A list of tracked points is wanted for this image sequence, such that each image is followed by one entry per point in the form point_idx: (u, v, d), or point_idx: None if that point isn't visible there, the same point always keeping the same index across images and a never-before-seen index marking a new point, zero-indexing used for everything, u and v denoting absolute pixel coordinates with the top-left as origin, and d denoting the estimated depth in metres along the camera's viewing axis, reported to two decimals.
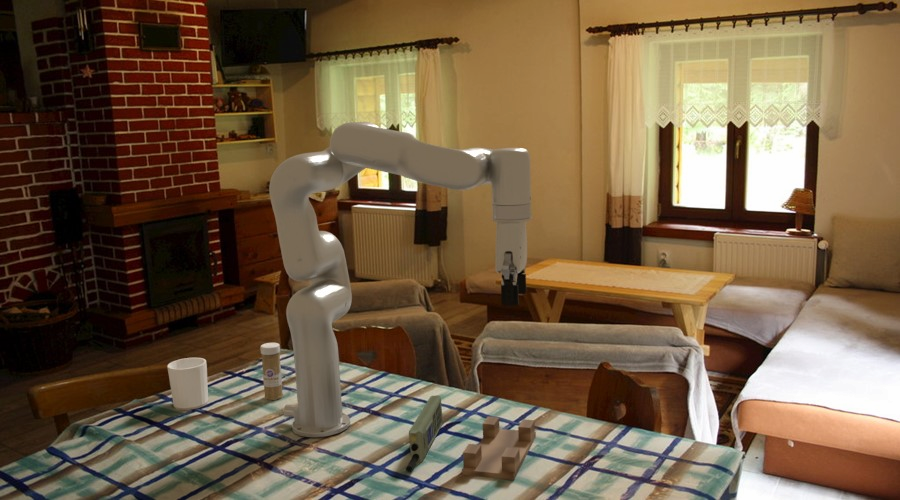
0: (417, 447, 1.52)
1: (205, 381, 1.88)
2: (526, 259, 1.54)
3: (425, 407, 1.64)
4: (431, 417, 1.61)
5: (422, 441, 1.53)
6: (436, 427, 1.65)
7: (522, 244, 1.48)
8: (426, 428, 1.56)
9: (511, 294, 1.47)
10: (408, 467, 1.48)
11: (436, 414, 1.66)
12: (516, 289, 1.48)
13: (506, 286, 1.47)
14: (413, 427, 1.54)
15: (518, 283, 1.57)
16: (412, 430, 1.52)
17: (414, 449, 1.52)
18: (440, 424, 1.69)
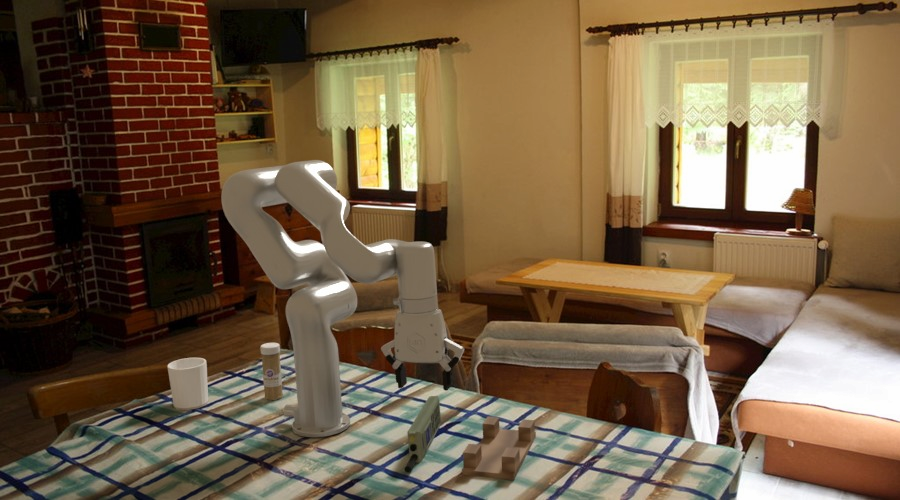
0: (416, 447, 1.52)
1: (205, 381, 1.88)
2: None
3: (423, 407, 1.64)
4: (429, 417, 1.61)
5: (421, 441, 1.53)
6: (434, 427, 1.65)
7: None
8: (425, 428, 1.56)
9: (452, 376, 1.56)
10: (407, 467, 1.48)
11: (434, 414, 1.66)
12: None
13: (450, 370, 1.54)
14: (412, 427, 1.54)
15: (403, 375, 1.58)
16: (411, 430, 1.53)
17: (413, 449, 1.52)
18: (438, 424, 1.69)
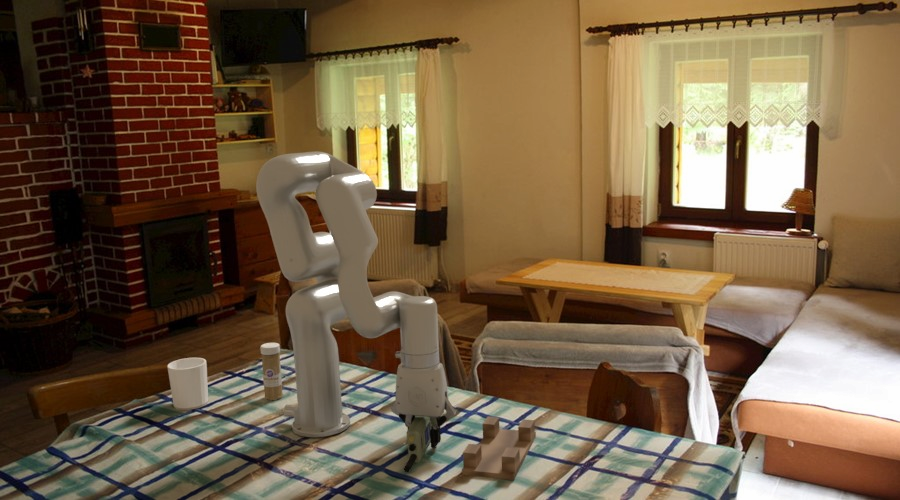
0: (415, 447, 1.52)
1: (205, 381, 1.88)
2: None
3: None
4: (428, 417, 1.61)
5: (420, 441, 1.53)
6: None
7: None
8: (424, 428, 1.56)
9: (440, 433, 1.59)
10: (406, 467, 1.48)
11: None
12: None
13: (438, 428, 1.58)
14: (411, 427, 1.54)
15: None
16: (410, 430, 1.53)
17: (412, 449, 1.52)
18: None
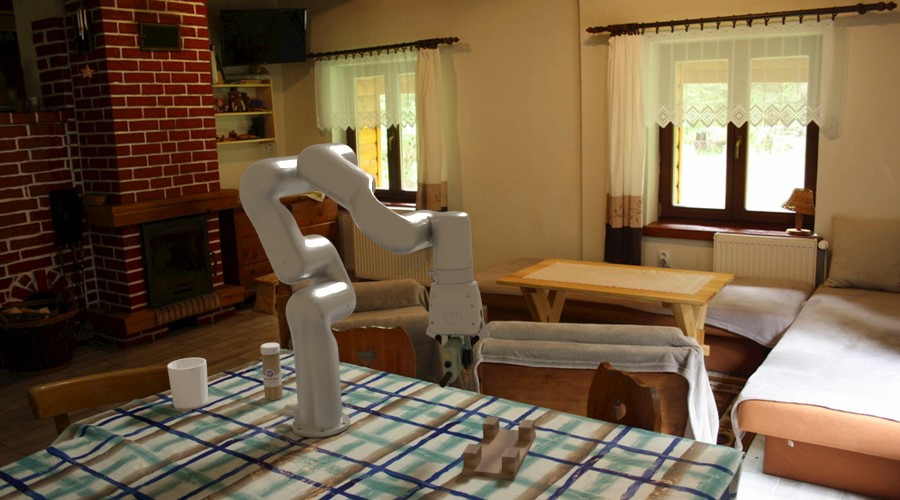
0: (450, 364, 1.47)
1: (205, 381, 1.88)
2: None
3: None
4: None
5: (455, 358, 1.47)
6: None
7: None
8: (459, 347, 1.50)
9: (472, 355, 1.53)
10: (441, 382, 1.42)
11: None
12: None
13: (471, 348, 1.52)
14: (446, 344, 1.48)
15: None
16: (445, 347, 1.47)
17: (447, 366, 1.46)
18: None
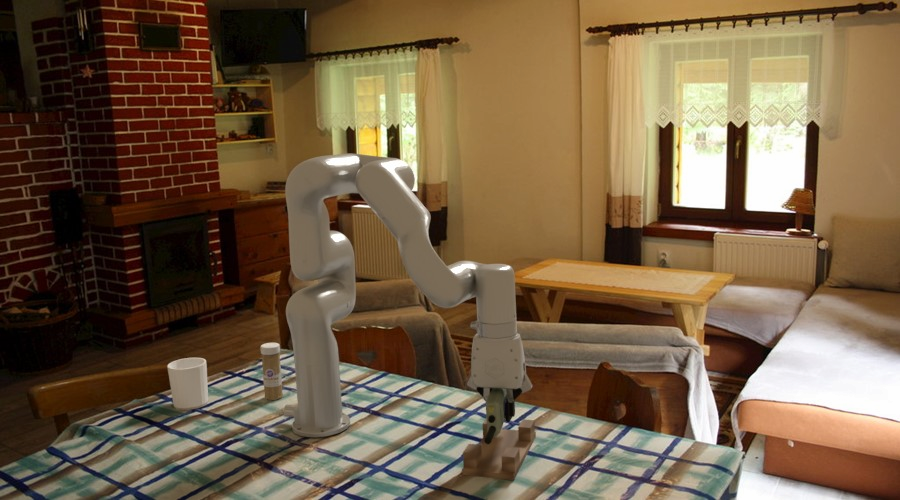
0: (494, 419, 1.46)
1: (205, 381, 1.88)
2: None
3: None
4: (505, 389, 1.54)
5: (499, 413, 1.47)
6: None
7: None
8: (502, 400, 1.50)
9: (514, 407, 1.53)
10: (487, 439, 1.41)
11: None
12: None
13: (513, 401, 1.52)
14: (489, 398, 1.48)
15: None
16: (489, 401, 1.46)
17: (491, 421, 1.45)
18: None
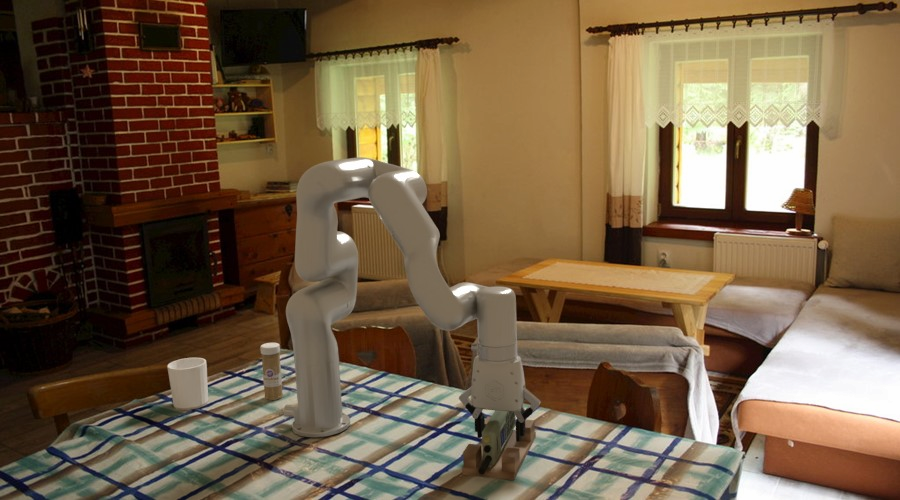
0: (490, 449, 1.47)
1: (205, 381, 1.88)
2: None
3: None
4: (504, 418, 1.56)
5: (495, 443, 1.48)
6: (509, 428, 1.60)
7: None
8: (499, 429, 1.51)
9: None
10: (481, 469, 1.43)
11: (509, 415, 1.60)
12: None
13: (524, 421, 1.52)
14: (486, 428, 1.49)
15: (482, 424, 1.55)
16: (485, 431, 1.48)
17: (487, 451, 1.47)
18: (513, 425, 1.64)
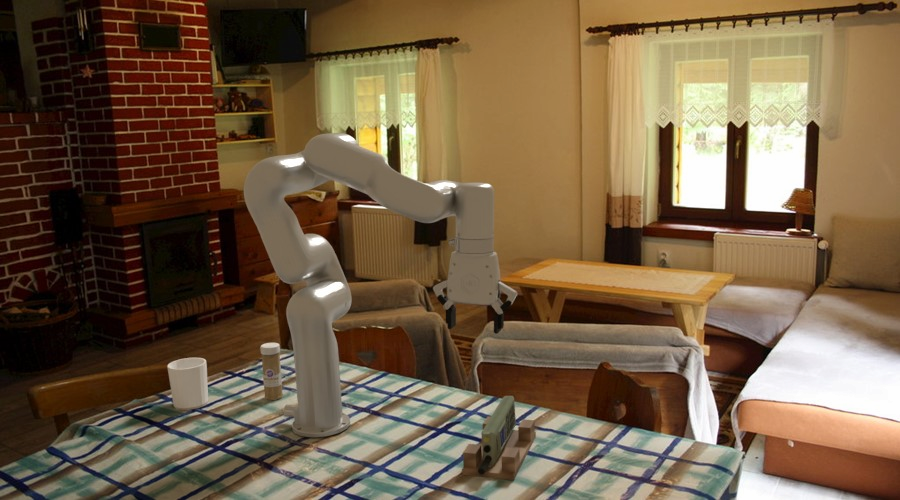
0: (490, 449, 1.47)
1: (205, 381, 1.88)
2: None
3: (498, 407, 1.59)
4: (504, 418, 1.56)
5: (495, 443, 1.48)
6: (509, 428, 1.60)
7: None
8: (499, 429, 1.51)
9: (503, 320, 1.55)
10: (480, 469, 1.43)
11: (509, 415, 1.60)
12: None
13: (502, 313, 1.54)
14: (486, 428, 1.49)
15: (453, 316, 1.58)
16: (485, 431, 1.48)
17: (487, 451, 1.47)
18: (513, 425, 1.64)
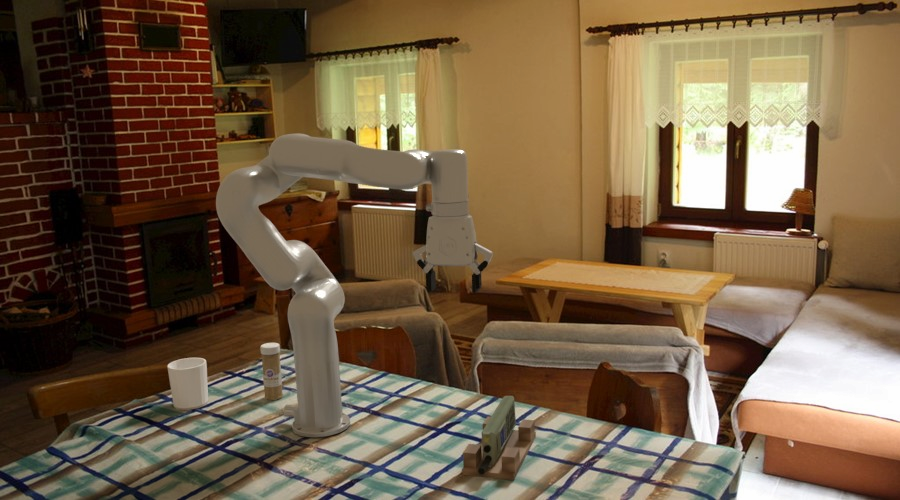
0: (490, 449, 1.47)
1: (205, 381, 1.88)
2: None
3: (498, 407, 1.59)
4: (504, 418, 1.56)
5: (495, 443, 1.48)
6: (509, 428, 1.60)
7: None
8: (499, 429, 1.51)
9: None
10: (480, 469, 1.43)
11: (509, 415, 1.60)
12: None
13: (479, 274, 1.61)
14: (486, 428, 1.49)
15: (433, 280, 1.65)
16: (485, 431, 1.48)
17: (487, 451, 1.47)
18: (513, 425, 1.64)
